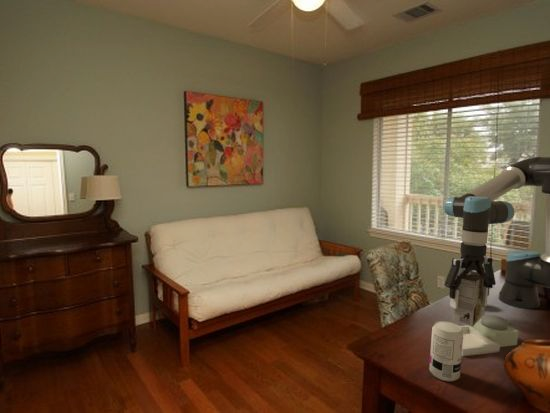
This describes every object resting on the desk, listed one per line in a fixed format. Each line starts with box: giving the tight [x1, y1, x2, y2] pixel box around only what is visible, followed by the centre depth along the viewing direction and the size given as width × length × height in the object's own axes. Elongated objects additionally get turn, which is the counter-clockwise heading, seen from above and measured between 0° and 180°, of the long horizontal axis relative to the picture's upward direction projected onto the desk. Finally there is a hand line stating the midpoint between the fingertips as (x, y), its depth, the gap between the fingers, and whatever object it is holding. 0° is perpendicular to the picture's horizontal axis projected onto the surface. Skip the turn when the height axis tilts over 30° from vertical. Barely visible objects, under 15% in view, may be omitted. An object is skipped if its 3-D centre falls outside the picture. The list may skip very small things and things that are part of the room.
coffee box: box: [452, 271, 484, 327], centre depth 118 cm, size 9×6×16 cm
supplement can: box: [429, 320, 463, 382], centre depth 102 cm, size 8×8×15 cm
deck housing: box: [459, 314, 519, 357], centre depth 121 cm, size 24×14×7 cm, turn 101°
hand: (468, 306), depth 119 cm, fingers closed on coffee box, 11 cm apart
